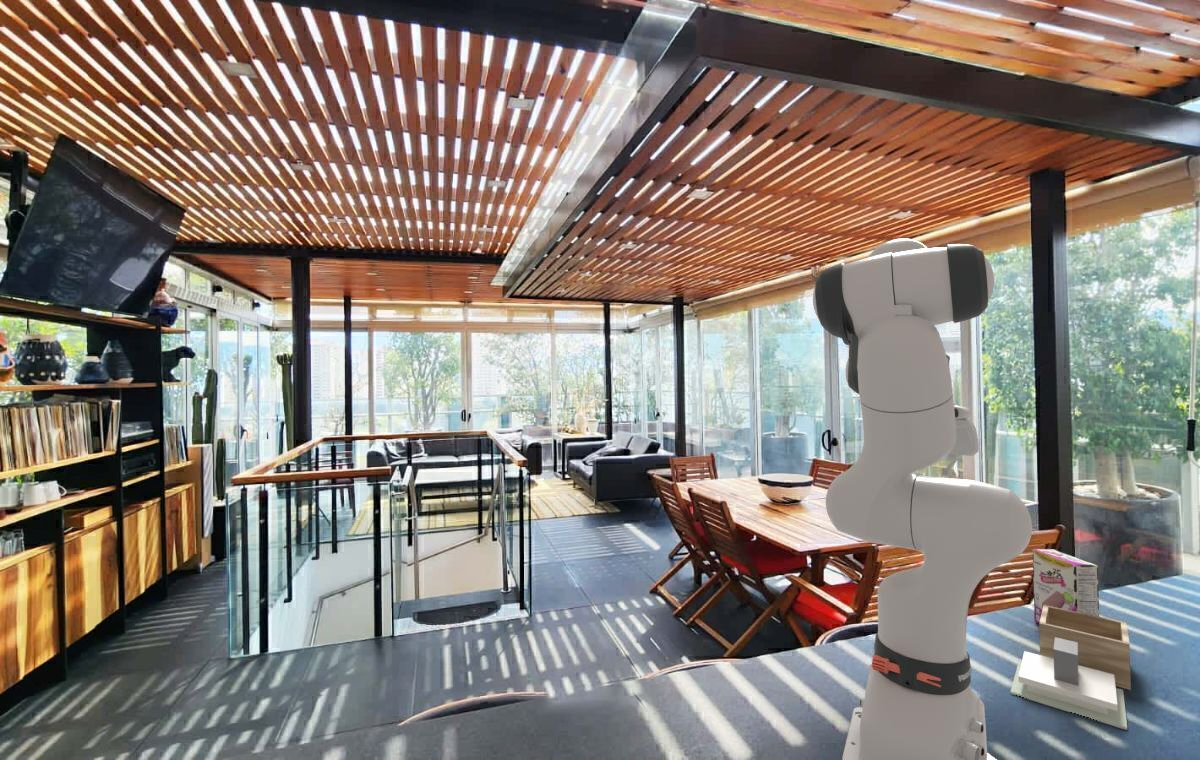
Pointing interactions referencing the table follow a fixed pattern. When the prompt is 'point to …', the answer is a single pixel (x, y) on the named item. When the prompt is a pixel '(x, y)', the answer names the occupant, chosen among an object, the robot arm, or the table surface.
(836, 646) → the table surface
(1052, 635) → the box
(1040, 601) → the candy bar box
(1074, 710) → the mat
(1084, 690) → the lid
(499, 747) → the table surface
